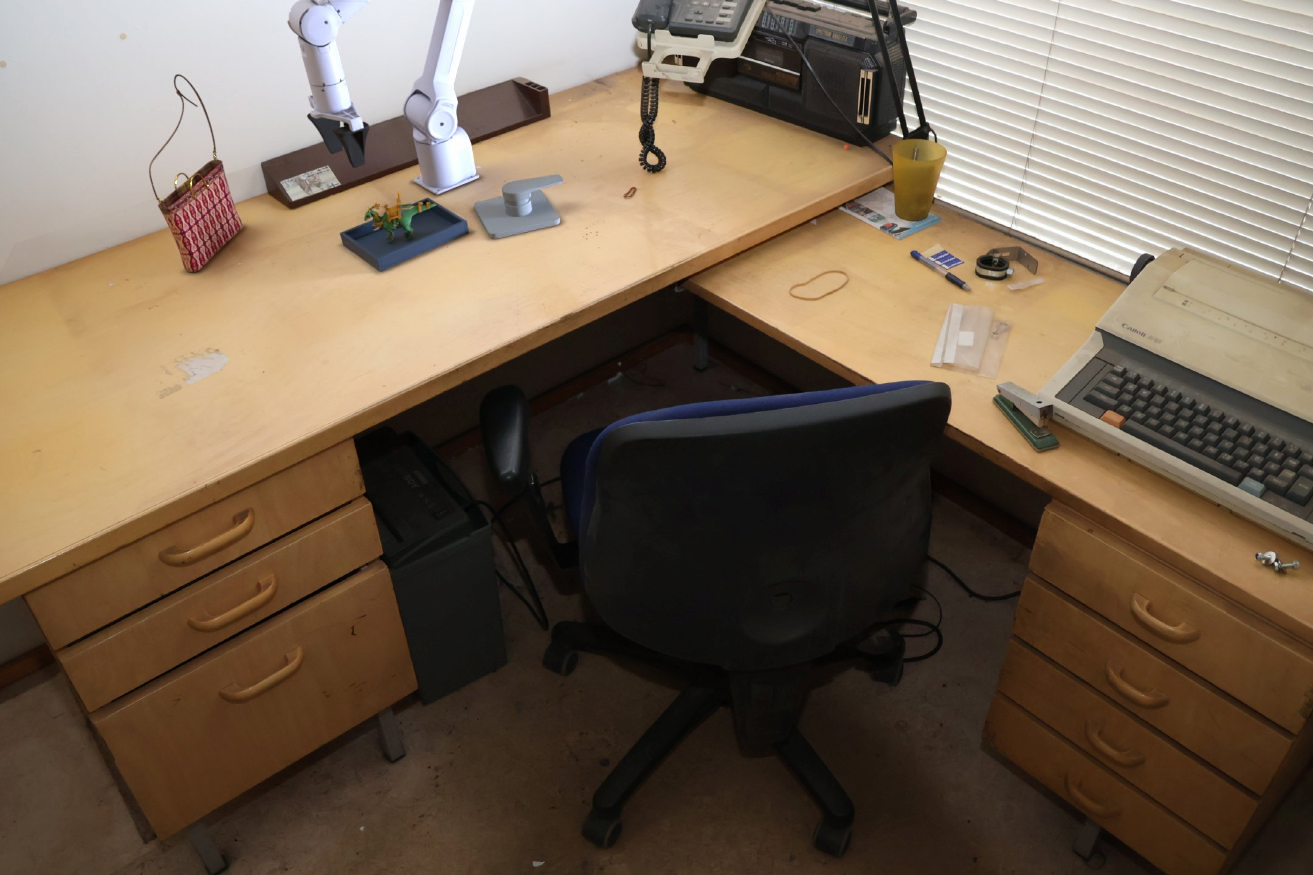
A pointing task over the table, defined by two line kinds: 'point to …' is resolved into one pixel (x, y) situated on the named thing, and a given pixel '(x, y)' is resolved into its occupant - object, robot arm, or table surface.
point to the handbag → (200, 208)
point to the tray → (427, 234)
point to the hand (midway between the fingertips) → (347, 158)
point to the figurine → (396, 217)
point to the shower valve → (519, 208)
